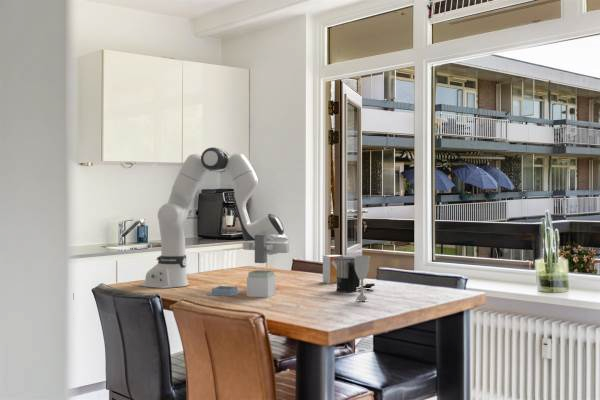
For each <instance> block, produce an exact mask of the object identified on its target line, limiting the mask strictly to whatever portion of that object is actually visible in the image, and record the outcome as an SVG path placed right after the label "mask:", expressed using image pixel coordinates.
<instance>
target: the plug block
mask: <svg viewBox="0 0 600 400" xmlns="http://www.w3.org/2000/svg"><path fill="white" fill-rule="evenodd" d="M265 245H267V234H256V235H255V250H254V264H265V263H267V261H268V258H267V257H268V256H267V255H268V254H267V250H265Z"/></svg>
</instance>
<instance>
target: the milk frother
mask: <svg viewBox="0 0 600 400" xmlns="http://www.w3.org/2000/svg"><path fill="white" fill-rule="evenodd" d="M336 259H337V283H336V292H339V293H340V292H342V293H351V292H352V291H355V292H357V291H358V290H360V288H361V285H360V284H361V279H359V278H358V276H357V274H356V271H355V259H354V256H343V257H337V258H336ZM374 286H376V285H375V283H366V284H365V283H364V285H363V288H364V289H366V288H370V289H371V288H373V287H374ZM356 290H357V291H356Z"/></svg>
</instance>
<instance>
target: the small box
mask: <svg viewBox="0 0 600 400" xmlns="http://www.w3.org/2000/svg"><path fill="white" fill-rule="evenodd" d="M337 257H344V255H341V254H327V255H322V283H325V282H327V283H326V284H335V283H334V282H337V259H336V258H337Z"/></svg>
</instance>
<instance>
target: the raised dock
mask: <svg viewBox="0 0 600 400" xmlns="http://www.w3.org/2000/svg"><path fill="white" fill-rule="evenodd" d="M274 295H276V275H275V271H274V270H260V269H254V270H252V271H250V272H248V276H247V277H246V297H248V298H249V297H250V298H252V297H253V298H270V297H272V296H274Z"/></svg>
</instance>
